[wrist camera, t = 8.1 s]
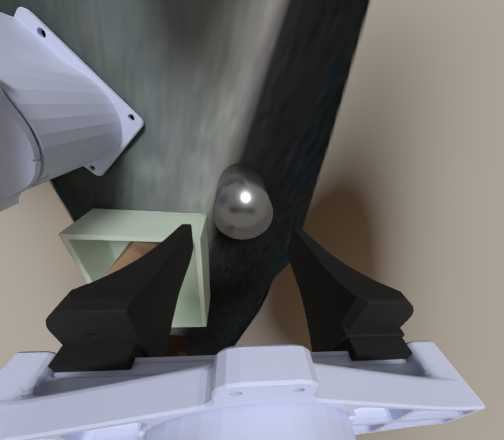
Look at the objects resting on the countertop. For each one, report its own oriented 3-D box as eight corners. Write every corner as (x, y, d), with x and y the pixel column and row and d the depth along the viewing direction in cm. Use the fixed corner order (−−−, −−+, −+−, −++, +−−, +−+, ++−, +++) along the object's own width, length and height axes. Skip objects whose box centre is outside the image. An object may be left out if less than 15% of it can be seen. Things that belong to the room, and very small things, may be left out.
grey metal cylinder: (210, 186, 21) (200, 218, 15) (238, 153, 19) (241, 174, 13) (242, 211, 23) (245, 248, 17) (270, 183, 21) (284, 213, 16)
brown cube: (128, 243, 24) (105, 273, 20) (149, 221, 22) (129, 248, 18) (162, 262, 26) (148, 293, 22) (183, 243, 25) (172, 272, 20)
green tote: (93, 208, 22) (58, 234, 17) (206, 213, 23) (200, 238, 19) (130, 297, 31) (113, 328, 27) (210, 297, 32) (206, 326, 28)
